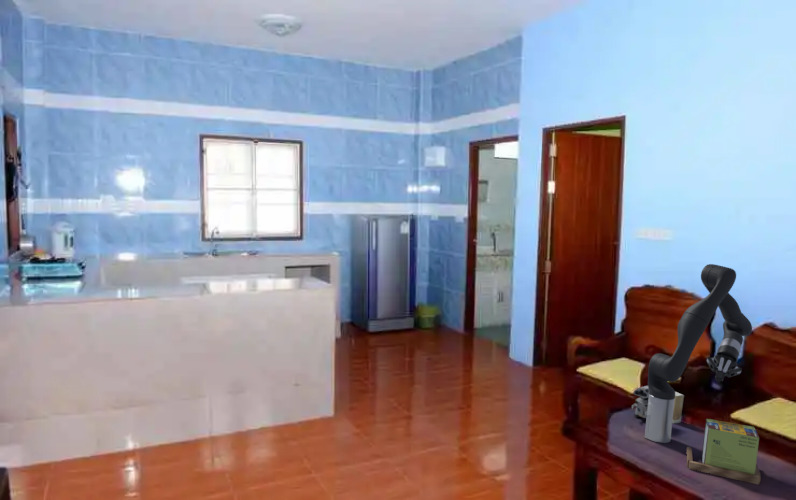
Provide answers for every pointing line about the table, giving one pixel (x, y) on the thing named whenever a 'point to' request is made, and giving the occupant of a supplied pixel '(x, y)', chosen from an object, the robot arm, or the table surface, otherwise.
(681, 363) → the robot arm
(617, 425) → the table surface
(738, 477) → the display bay
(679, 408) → the skincare box
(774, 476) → the table surface
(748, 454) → the protein box
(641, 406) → the figurine
